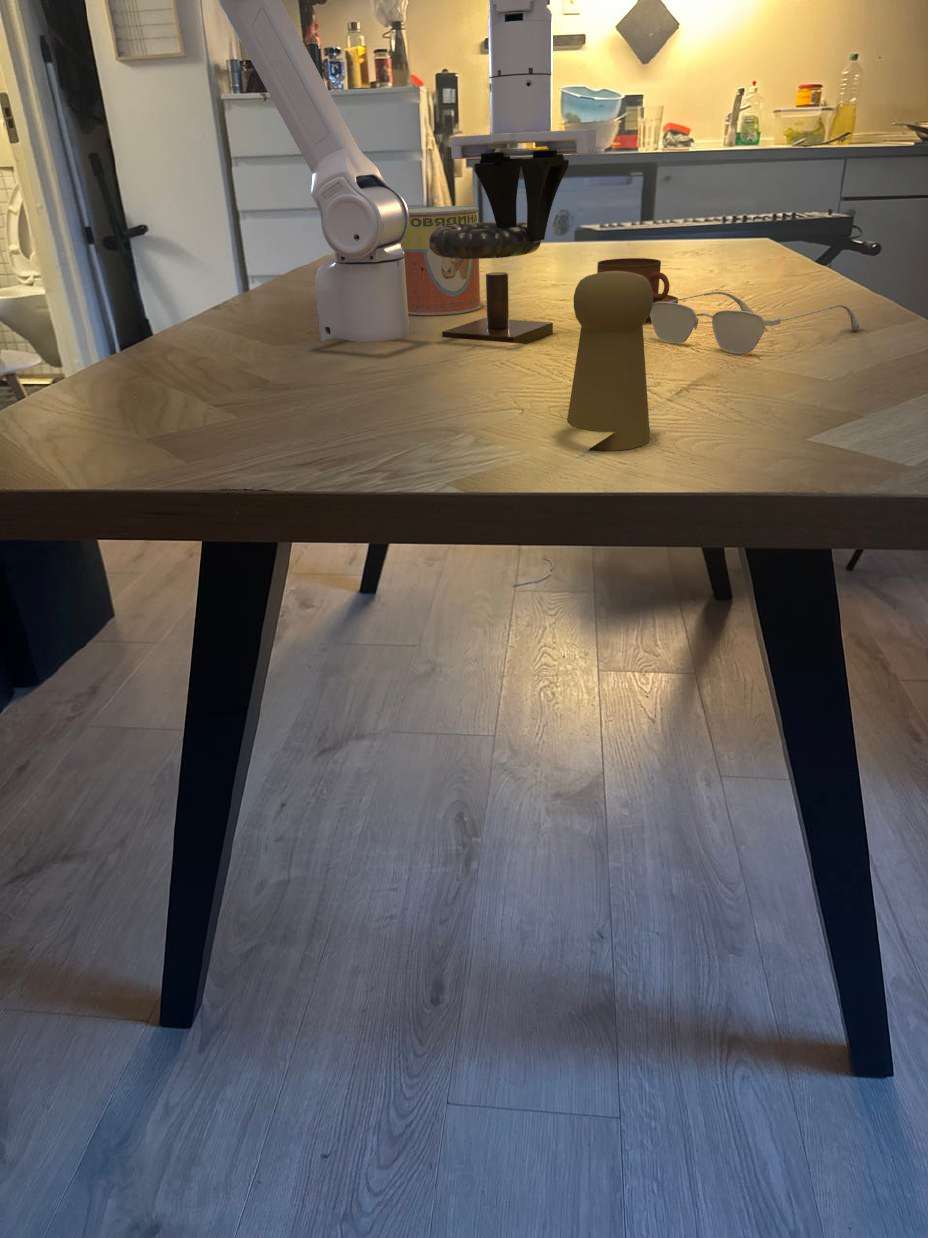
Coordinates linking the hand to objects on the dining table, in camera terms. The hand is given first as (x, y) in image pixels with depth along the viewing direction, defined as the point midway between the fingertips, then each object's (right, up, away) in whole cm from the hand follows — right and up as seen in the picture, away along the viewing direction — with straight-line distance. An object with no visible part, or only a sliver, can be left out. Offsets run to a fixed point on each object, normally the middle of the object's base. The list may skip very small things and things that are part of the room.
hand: (521, 240), depth 84 cm
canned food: (-9, +4, +30) cm, 32 cm away
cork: (+5, -25, -23) cm, 34 cm away
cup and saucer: (+14, -1, +19) cm, 24 cm away
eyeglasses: (+25, -7, +7) cm, 27 cm away
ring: (-4, +1, +2) cm, 4 cm away
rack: (-2, -6, +11) cm, 12 cm away
